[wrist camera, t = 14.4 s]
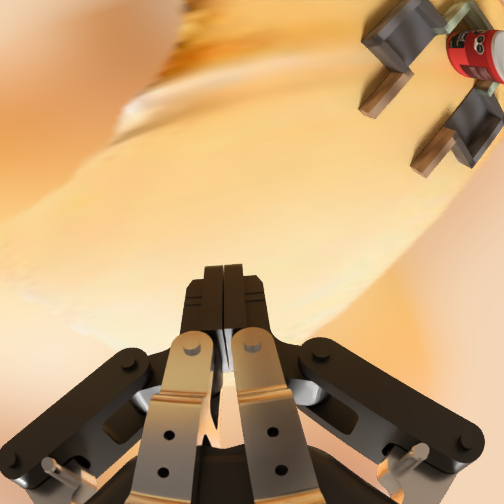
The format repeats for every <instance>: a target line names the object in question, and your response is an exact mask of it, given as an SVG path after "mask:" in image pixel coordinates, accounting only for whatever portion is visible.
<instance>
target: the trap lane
mask: <svg viewBox="0 0 504 504" xmlns="http://www.w3.org/2000/svg"><path fill="white" fill-rule="evenodd" d="M462 18H463V19H464V21H465V22H466V23H467V25H468V26H469V28H470V29H471V30H494V29H493V27H492V26H491V24H490V23H489V21H488V20H487V18H486V17H485V15H484V14H483V12H482V11H481V10H480V8H479V7H478V5H477V4H476V3H475V1H474V0H462V1H456V2H454V3H453V5H452V6H451V7H450V8H449V9H448V10H447V11H446V12H445V13H444V14H443V15H442V16H441V14H440V13H439V12H438V11H437V10H436V8H435V7H434V6H433V5H432V4H431V3H430V2H429V0H401V1H400V2H399V3H398V4H397V5H396V6H395V7H394V8H393V9H392V10H391V11H390V12H389V13H388V14H387V15H386V16H385V17H384V18H383V19H382V20H381V21H380V22H379V23H378V24H377V25H376V27H375V28H374V29H373V30H372V31H371V32H370V33H369V34H368V35H367V36H366V37H365V38H364V39H363V40H362V41H361V42H362V43H363V44H364V45H365V46H366V47H367V48H368V49H369V50H370V51H371V52H372V53H373V54H374V55H375V56H376V57H377V58H378V59H379V60H380V61H381V62H382V63H383V64H384V65H385V66H386V68H387V69H388V70H389V71H390V72H391V73H390V74H389V75H388V77H387V78H386V79H385V80H384V81H383V82H382V83H381V84H380V86H379V87H378V88H377V89H376V90H375V91H374V92H373V93H372V95H371V96H370V97H369V98H368V99H367V100H366V101H365V103H364V104H363V105H362V106H361V107H360V108H359V109H358V110H359V111H360V112H361V113H362V114H363V115H364V116H367V117H370V118H373V119H376V118H377V117H378V115H379V114H380V113H381V112H382V111H383V110H384V109H385V107H386V106H387V105H388V104H389V103H390V102H391V101H392V99H393V98H394V97H395V96H396V95H397V94H398V93H399V91H400V90H401V89H402V88H403V87H404V86H405V84H406V83H407V82H408V81H409V80H410V79H411V78H412V76H413V75H414V73H413V72H412V71H411V70H410V68H409V67H408V66H409V65H410V64H411V63H412V62H413V61H414V60H415V58H416V57H417V56H418V55H419V54H420V53H421V52H422V50H423V49H424V48H425V47H426V46H427V45H428V44H429V43H430V41H431V40H432V39H433V38H434V37H435V36H436V35H441V34H450V32H451V31H452V30H453V29H454V28H455V27H456V25H457V24H458V23H459V22H460V21H461V20H462ZM499 84H500V83H496V82H491V81H486V80H481V79H479V81H478V82H477V83H476V85H475V86H474V87H473V89H472V90H471V91H470V93H469V94H468V95H467V97H466V98H465V99H464V100H463V102H462V103H461V104H460V106H459V107H458V108H457V109H456V111H455V112H454V113H453V114H452V116H451V117H450V118H449V119H448V121H447V122H446V123H445V124H444V126H443V127H442V128H441V129H440V131H439V132H438V133H437V134H436V135H435V137H434V138H433V139H432V140H431V141H430V143H429V144H428V145H427V146H426V147H425V149H424V150H423V151H422V152H421V153H420V155H419V156H418V157H417V158H416V159H415V160H414V162H413V163H412V164H411V165H410V167H411V168H412V169H413V170H414V171H415V172H417V173H418V174H420V175H421V176H423V177H425V178H427V177H428V176H429V174H430V173H431V172H432V171H433V170H434V168H435V167H436V166H437V165H438V164H439V162H440V161H441V160H442V159H443V158H444V156H445V155H446V154H447V153H448V152H449V150H450V149H451V150H452V152H453V153H454V155H455V156H456V158H457V159H458V161H459V162H460V163H462V164H464V165H466V166H468V167H470V168H471V169H472V168H473V167H474V165H475V164H476V163H477V161H478V160H479V159H480V158H481V156H482V155H483V154H484V152H485V151H486V150H487V148H488V147H489V145H490V144H491V143H492V141H493V140H494V139H495V137H496V136H497V134H498V133H499V132H500V130H501V129H502V127H503V126H504V112H503V110H502V108H501V106H500V104H499V103H498V101H497V99H496V97H495V95H494V93H493V92H494V91H495V89H496V88H497V87H498V85H499Z"/></svg>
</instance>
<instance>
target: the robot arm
mask: <svg viewBox="0 0 504 504" xmlns="http://www.w3.org/2000/svg"><path fill="white" fill-rule="evenodd" d="M229 363H230V369H231V372H234V375H235V382H236V389H237V397H238V404H239V411H240V417H241V424H242V430H243V437H244V443H245V444H242V445H238V446H235V447H231V448H227V449H221V443H220V421H221V406H222V394H223V388H222V385H223V372H229ZM296 407H297V408H298V409H300V410H301V411H302V412H303V413H305V414H306V415H308V416H309V417H310V418H311V419H313V420H314V421H315V422H317V423H318V424H319V425H321V426H322V427H323V428H325V429H326V430H328V431H329V432H330V433H332V434H333V435H335V436H336V437H337V438H339V439H341V440H342V441H343V442H345V443H346V444H347V445H349V446H350V447H352V448H353V449H355V450H356V451H358V452H359V453H361V454H362V455H364V456H365V457H367V458H368V459H370V460H371V461H373V462H374V463H376V464H378V467H377V473H376V474H377V479H378V481H379V483H380V484H381V485H382V486H383V487H384V488H385V489H386V490H387V491H388V493H389V495H390V498H389V497H388V496H386V495H385V494H383V493H382V492H380V491H379V490H378V489H376V488H375V487H373V486H372V485H370V484H369V483H367V482H366V481H364V480H363V479H362V478H360V477H359V476H358V475H356V474H355V473H354V472H352V471H351V470H349V469H348V468H347V467H346V466H344V465H343V464H342V463H340V462H339V461H338V460H336V459H335V458H334V457H332V456H331V455H329V454H328V453H326V452H324V451H322V450H320V449H318V448H315V447H312V446H309V445H307V443H306V439H305V436H304V432H303V429H302V426H301V422H300V418H299V415H298V411H297V408H296ZM140 439H141V442H140V447H139V452H138V455H137V456H135V457H134V458H132V459H131V460H130V461H128V462H127V463H126V464H125V465H124V466H123V467H122V468H121V469H120V470H119V471H118V472H117V473H116V474H115V475H114V476H113V477H112V478H111V479H110V480H109V481H108V482H107V483H105V484H104V485H103V486H102V487H101V488H100V489H99V490H97V481H96V479H97V478H98V477H99V476H100V475H101V474H103V473H104V472H105V471H106V470H107V469H108V468H109V467H110V466H112V465H113V464H114V463H115V462H116V461H117V460H118V459H119V458H121V457H122V456H123V455H124V454H125V453H126V452H127V451H128V450H129V449H130V448H131V447H133V446H134V444H136V443H137V442H138V441H139V440H140ZM484 446H485V439H484V435H483V433H482V431H481V429H480V428H479V427H478V426H476V425H475V424H474V423H472V422H470V421H468V420H466V419H465V418H463V417H461V416H459V415H457V414H456V413H454V412H452V411H450V410H449V409H447V408H445V407H443V406H442V405H440V404H438V403H436V402H435V401H433V400H431V399H429V398H428V397H426V396H424V395H423V394H421V393H419V392H417V391H416V390H414V389H412V388H411V387H409V386H407V385H406V384H404V383H402V382H401V381H399V380H397V379H395V378H393V377H392V376H390V375H389V374H387V373H385V372H384V371H382V370H380V369H379V368H377V367H375V366H374V365H372V364H370V363H369V362H367V361H366V360H364V359H362V358H361V357H359V356H357V355H356V354H354V353H353V352H351V351H349V350H348V349H346V348H345V347H343V346H341V345H340V344H338V343H336V342H335V341H333V340H331V339H328V338H322V337H317V338H312V339H309V340H307V341H306V342H304V343H303V344H302V346H298V345H292V344H287V343H284V342H282V341H280V340H278V339H277V338H276V337H275V336H274V335H273V334H272V332H271V330H270V325H269V318H268V312H267V306H266V301H265V294H264V287H263V282H262V281H261V280H260V279H259V278H258V277H257V276H256V275H252V276H243V268H242V264H232V265H224V268H223V265H219V266H205V271H204V279H196V280H192V282H191V283H190V284H189V286H188V287H187V289H186V296H185V302H184V309H183V315H182V322H181V329H180V335H179V336H177V337H176V338H175V339H174V341H173V342H172V345H171V347H170V348H169V349H167V350H165V351H163V352H159V353H156V354H152V355H149V356H147V354H146V353H145V352H144V351H143V350H141V349H138V348H126V349H123V350H121V351H119V352H118V353H116V354H115V355H114V356H113V357H111V358H110V359H109V360H108V361H106V362H105V363H104V364H103V365H102V366H100V367H99V368H98V369H96V370H95V371H94V372H93V373H92V374H90V375H89V376H88V377H87V378H85V379H84V380H83V381H82V382H80V383H79V384H78V385H77V386H75V387H74V388H73V389H72V390H71V391H69V392H68V393H67V394H66V395H64V396H63V397H62V398H61V399H60V400H58V401H57V402H56V403H55V404H53V405H52V406H51V407H50V408H48V409H47V410H46V411H45V412H44V413H42V414H41V415H40V416H39V417H37V418H36V419H35V420H34V421H33V422H31V423H30V424H29V425H28V426H26V427H25V428H24V429H23V430H22V431H20V432H19V433H18V434H17V435H16V436H14V437H13V438H12V439H11V440H9V441H8V442H7V443H6V444H4V446H2V448H1V449H0V471H1V473H2V474H3V475H4V476H5V477H6V478H8V479H10V480H11V481H13V482H15V483H16V484H18V485H19V486H20V487H22V488H23V489H25V490H26V492H27V493H28V495H29V496H30V498H31V499H32V501H33V503H34V504H439V503H440V502H441V500H442V498H443V497H444V495H445V494H446V492H447V490H448V489H449V487H450V485H451V484H452V482H453V480H454V478H455V477H456V475H457V473H458V472H459V471H461V470H462V469H464V468H465V467H467V466H468V465H469V464H471V463H472V462H474V461H475V460H476V459H477V458H479V457H480V455H481V454H482V452H483V449H484Z"/></svg>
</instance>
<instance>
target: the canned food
mask: <svg viewBox="0 0 504 504" xmlns="http://www.w3.org/2000/svg"><path fill="white" fill-rule="evenodd" d="M447 54H448V58H449V60H450V62H451V64H452V66H453V67H454V69H455V70H456V71H457V72H458V73H460V74H461V75H463V76H465V77H469V78H475V79H481V80H486V81H491V82H496V83H501V84H504V31H503V30H462V31H456V32H454V33H452V34H451V35H450V36H449V38H448V40H447Z"/></svg>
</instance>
